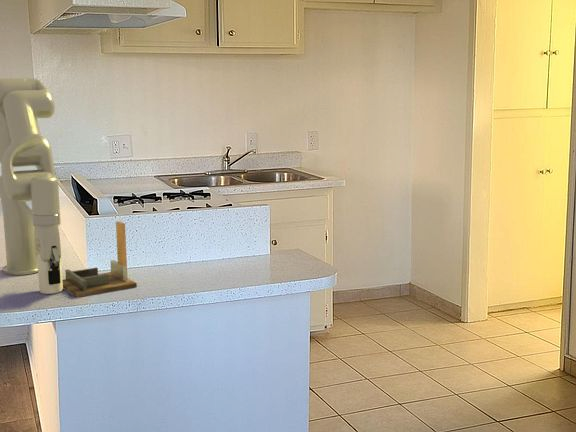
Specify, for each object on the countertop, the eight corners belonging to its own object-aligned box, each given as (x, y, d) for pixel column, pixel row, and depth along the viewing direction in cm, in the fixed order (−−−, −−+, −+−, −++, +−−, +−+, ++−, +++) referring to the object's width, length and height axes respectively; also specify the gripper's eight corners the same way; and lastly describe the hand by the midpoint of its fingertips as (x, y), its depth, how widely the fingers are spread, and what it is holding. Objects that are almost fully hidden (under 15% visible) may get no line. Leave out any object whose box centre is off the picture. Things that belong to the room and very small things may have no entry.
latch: (111, 273, 237) (108, 220, 234) (118, 272, 239) (116, 219, 236) (123, 281, 230) (120, 226, 226) (131, 279, 231) (128, 225, 228)
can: (65, 288, 228) (62, 248, 226) (59, 294, 221) (57, 253, 219) (43, 288, 228) (40, 248, 225) (36, 294, 221) (33, 253, 219)
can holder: (65, 279, 232) (65, 269, 232) (93, 275, 237) (93, 265, 237) (83, 291, 220) (82, 281, 220) (112, 286, 225) (111, 276, 224)
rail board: (58, 284, 232) (58, 280, 232) (115, 275, 242) (115, 271, 242) (76, 297, 219) (76, 293, 219) (136, 287, 229) (136, 283, 229)
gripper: (24, 216, 226) (28, 276, 229) (42, 226, 212) (47, 290, 215) (50, 213, 230) (54, 272, 233) (70, 223, 216) (73, 285, 219)
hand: (50, 280), depth 224 cm, fingers closed on can, 6 cm apart
